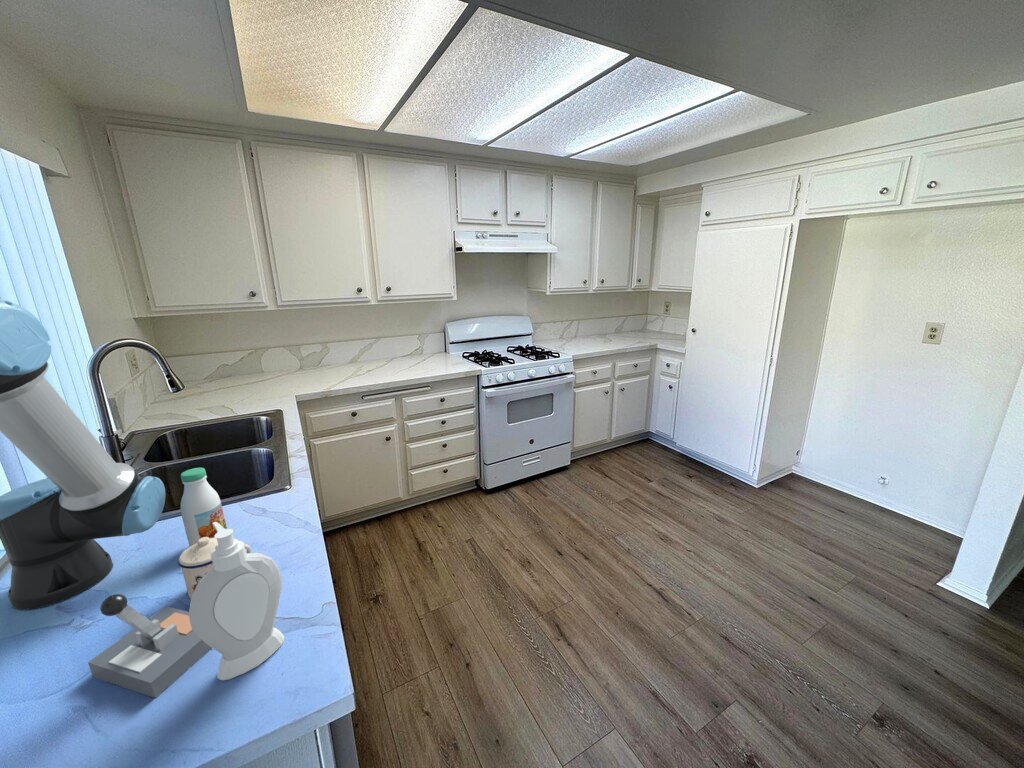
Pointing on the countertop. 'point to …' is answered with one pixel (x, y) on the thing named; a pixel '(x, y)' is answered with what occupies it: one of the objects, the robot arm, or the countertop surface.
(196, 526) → the milk bottle
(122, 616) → the lever
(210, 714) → the countertop surface
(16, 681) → the countertop surface
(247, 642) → the soap bottle
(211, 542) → the teacup with lid
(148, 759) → the countertop surface
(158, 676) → the switch base
